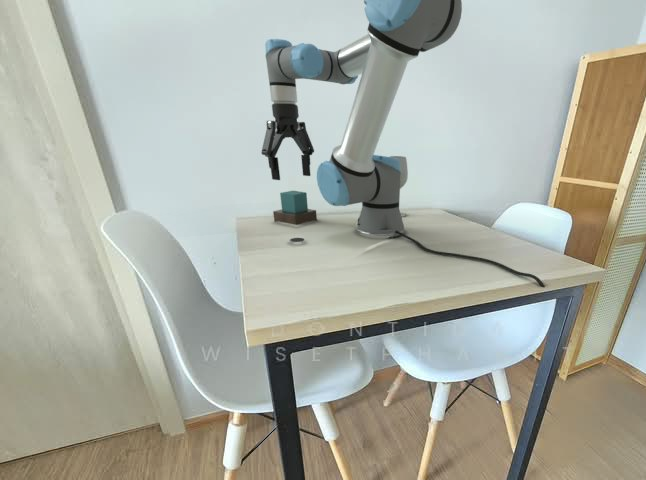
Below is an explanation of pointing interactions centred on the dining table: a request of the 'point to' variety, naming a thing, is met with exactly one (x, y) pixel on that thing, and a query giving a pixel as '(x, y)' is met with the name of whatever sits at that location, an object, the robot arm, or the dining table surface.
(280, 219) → the block
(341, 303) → the dining table surface
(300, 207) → the block
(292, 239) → the cap
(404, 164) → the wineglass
